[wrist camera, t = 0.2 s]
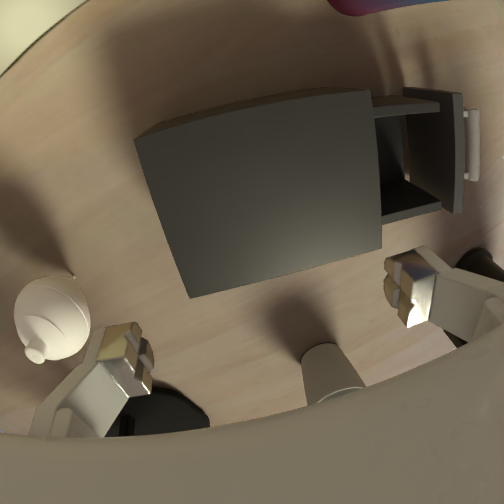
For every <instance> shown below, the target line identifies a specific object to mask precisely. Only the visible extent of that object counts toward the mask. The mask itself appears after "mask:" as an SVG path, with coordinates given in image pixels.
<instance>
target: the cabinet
mask: <svg viewBox="0 0 504 504" xmlns="http://www.w3.org/2000/svg"><path fill="white" fill-rule="evenodd" d="M134 143H135V147H136V150H137V153H138V156H139V159H140V163H141V166H142V169H143V172H144V175H145V178H146V181H147V184H148V187H149V190H150V193H151V196H152V199H153V202H154V205H155V208H156V211H157V214H158V216H159V219H160V222H161V225H162V228H163V230H164V233H165V236H166V239H167V241H168V244H169V247H170V249H171V252H172V255H173V257H174V260H175V263H176V265H177V268H178V270H179V273H180V276H181V278H182V281H183V283H184V286H185V288H186V291H187V293H188V296H189V298H190V299H191V298H195V297H199V296H203V295H208V294H212V293H216V292H220V291H224V290H228V289H232V288H236V287H240V286H244V285H248V284H252V283H256V282H260V281H263V280H267V279H271V278H275V277H279V276H283V275H286V274H290V273H294V272H298V271H302V270H305V269H309V268H313V267H316V266H320V265H324V264H327V263H331V262H335V261H338V260H342V259H346V258H349V257H353V256H356V255H360V254H363V253H367V252H371V251H374V250H378V249H381V248H382V224H381V194H380V176H379V162H378V150H377V140H376V130H375V121H374V113H373V105H372V98H371V91H370V89H354V88H314V89H307V90H301V91H294V92H288V93H282V94H276V95H271V96H265V97H260V98H255V99H250V100H246V101H241V102H236V103H232V104H228V105H223V106H219V107H215V108H211V109H207V110H203V111H200V112H196V113H192V114H188V115H185V116H181V117H178V118H174V119H171V120H168V121H164V122H161V123H158V124H156V125H154V126H153V127H151V128H150V129H148V130H147V131H145V132H144V133H142V134H141V135H139V136H138V137H136V138H135V139H134Z"/></svg>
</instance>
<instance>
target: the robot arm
mask: <svg viewBox="0 0 504 504" xmlns="http://www.w3.org/2000/svg"><path fill="white" fill-rule="evenodd" d="M384 269H385V271H386V272H387V273H388V274H387V276H386V277H385V279H384V292H385V296H386V298H387V301H388V302H389V304H390V305H391V307H394V308H396V309H398V316H399V318H400V319H401V320H402V322H403V323H404V324H405V326H406V327H407V328H408V327H411V326H414V325H416V324H419V323H422V322H424V321H427V320H429V322H431V323H433V324H435V325H437V326H439V327H441V328H442V329H444V330H446V331H448V332H450V333H452V334H454V335H456V336H457V337H459V338H461V339H463V340H465V341H467V342H469V343H467V344H465V345H463V346H461V347H459V348H457V349H455V350H453V351H451V352H449V353H447V354H445V355H443V356H440V357H438V358H436V359H434V360H432V361H430V362H427V363H425V364H423V365H421V366H418V367H416V368H414V369H411V370H409V371H407V372H404V373H402V374H399V375H397V376H394V377H392V378H389V379H387V380H384V381H382V382H379V383H376V384H374V385H371V386H368V387H365V388H362V389H360V390H357V391H354V392H351V393H348V394H345V395H342V396H339V397H336V398H332V399H329V400H326V401H323V402H319V403H316V404H312V405H309V406H305V407H302V408H298V409H294V410H290V411H286V412H282V413H278V414H274V415H270V416H266V417H261V418H257V419H252V420H247V421H242V422H237V423H232V424H226V425H221V426H215V427H209V428H202V429H196V430H188V431H181V432H172V433H163V434H153V435H141V436H126V437H104V436H105V435H106V433H107V431H108V430H109V428H110V427H111V425H112V424H113V422H114V420H115V419H116V417H117V416H118V414H119V413H120V411H121V410H122V408H123V406H124V405H125V403H126V402H127V400H128V398H129V397H136V396H142V395H148V394H151V389H152V379H153V378H152V376H151V375H150V372H151V370H152V369H153V368H154V355H153V351H152V348H151V345H150V344H149V342H148V340H146V339H144V338H142V337H141V335H142V330H141V328H140V326H139V325H138V323H136V322H130V323H125V324H120V325H114V326H109V327H104V328H98V329H96V330H94V331H93V334H92V336H91V339H90V342H89V345H88V348H87V351H86V354H85V357H84V360H83V363H82V364H79V365H78V366H77V367H76V368H75V369H74V370H73V371H72V372H71V373H70V374H69V375H68V376H67V377H66V378H65V379H64V380H63V381H62V382H61V383H60V384H59V385H58V386H57V387H56V388H55V389H54V390H53V391H52V392H51V393H50V394H49V395H48V396H47V398H46V399H45V400H44V401H43V402H42V403H41V404H40V405H39V406H38V407H37V409H36V412H35V415H34V418H33V421H32V425H31V428H30V431H29V435H17V434H7V433H0V504H504V282H501V281H498V280H495V279H491V278H488V277H485V276H482V275H478V274H475V273H472V272H468V271H465V270H462V269H458V268H453V269H452V268H451V267H450V266H448V265H447V264H446V263H445V262H444V261H443V260H442V259H441V258H440V257H438V256H437V255H436V254H435V253H434V252H433V251H432V250H430V249H429V248H428V247H427V246H420V247H417V248H414V249H412V250H410V251H407V252H404V253H401V254H397V255H394V256H391V257H387V258H386V259H385V262H384Z"/></svg>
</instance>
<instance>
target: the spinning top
mask: <svg viewBox="0 0 504 504" xmlns="http://www.w3.org/2000/svg"><path fill="white" fill-rule="evenodd" d="M75 278H76V277H75V276H74V275H73V276H72V278H70V277H66V276H48V277H43V278H40V279H37V280H34V281H32V282H30V283H29V284H28V285H26V286H25V287H24V288H23V289H22V290H21V292H20V293H19V295H18V297H17V299H16V302H15V306H14V320H15V325H16V328H17V332H18V335H19V337H20V339H21V341H22V342H23V344H24V345H25V346H26V348H25V354H26V356H27V357H28V358H29V359H30V360H31V361H32V362H34V363H38V364H41V363H43V362H44V361H45V359H48V360H60V359H63V358H67V357H69V356H72V355H74V354H75V353H77V352H78V351H79V350H80V349H81V348H82V347H83V346H84V344H85V343H86V341H87V339H88V336H89V331H90V314H89V310H88V306H87V302H86V299H85V297H84V295H83V293H82V291H81V289H80V287H79V285H78V284H77V283H76V281H75V280H74V279H75Z"/></svg>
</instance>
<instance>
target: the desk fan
mask: <svg viewBox="0 0 504 504" xmlns="http://www.w3.org/2000/svg"><path fill="white" fill-rule="evenodd" d="M209 427H210V421H209V418H208V416H207V415H206V414H205V413H203V412H202V411H201V410H199V409H198V408H197V407H196V406H194V405H193V404H192V403H190V402H189V401H188V400H187V399H186V398H184V397H183V396H181V395H180V394H178V393H175V392H173V391H170V390H166V389H160V388H152V389H151V394H148V395H142V396H136V397H129V398H128V400H127V402H126V403H125V405H124V406H123V408H122V410H121V411H120V413H119V414H118V416H117V417H116V419H115V420H114V422H113V424H112V425H111V427H110V428H109V430H108V431H107V433H106V435H105V436H104V437H126V436H141V435H153V434H163V433H172V432H181V431H188V430H196V429H202V428H209Z"/></svg>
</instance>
